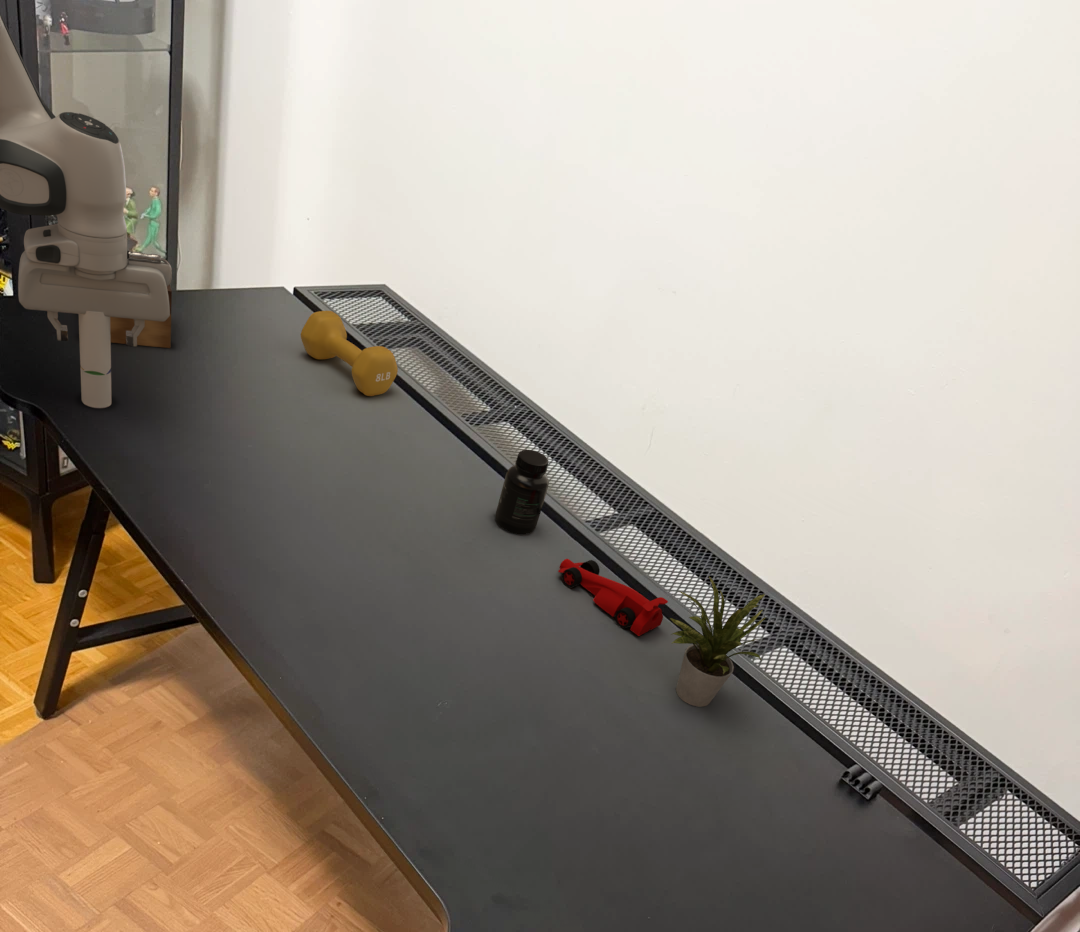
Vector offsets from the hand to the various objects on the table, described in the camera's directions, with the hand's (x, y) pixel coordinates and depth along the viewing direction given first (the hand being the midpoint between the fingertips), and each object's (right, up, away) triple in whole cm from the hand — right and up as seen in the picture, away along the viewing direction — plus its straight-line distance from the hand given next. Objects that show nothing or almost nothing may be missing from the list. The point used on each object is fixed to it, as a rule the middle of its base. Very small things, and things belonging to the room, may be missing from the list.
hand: (97, 342), depth 152 cm
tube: (-3, -7, +6) cm, 10 cm away
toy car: (+76, -39, +2) cm, 85 cm away
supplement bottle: (+62, -25, +12) cm, 68 cm away
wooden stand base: (-7, +12, +26) cm, 29 cm away
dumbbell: (+30, +7, +35) cm, 47 cm away
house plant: (+88, -52, -9) cm, 102 cm away
